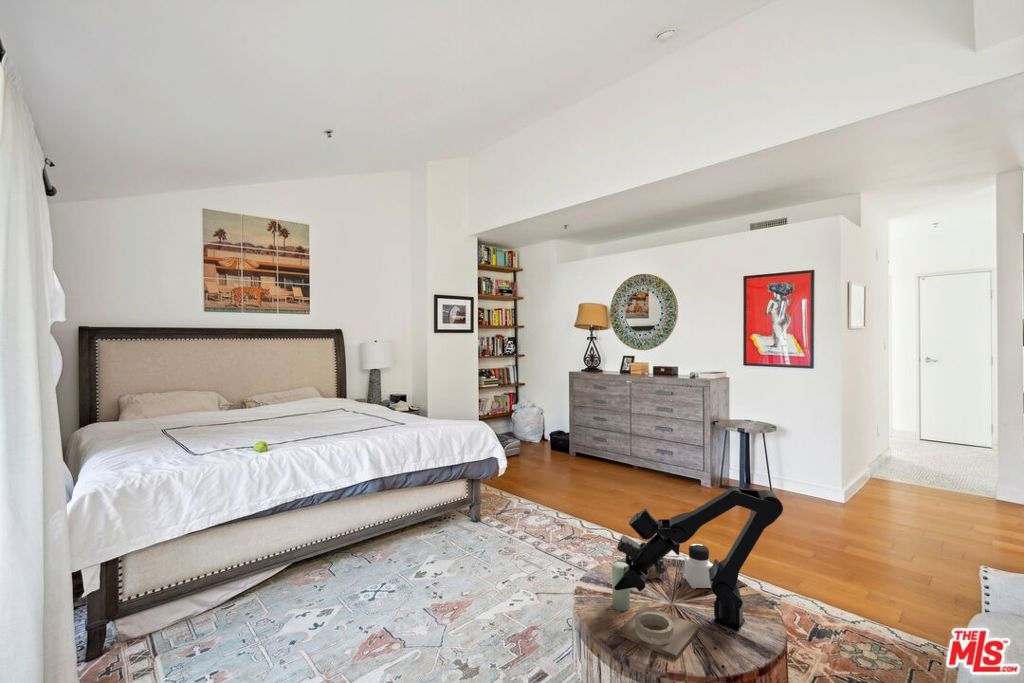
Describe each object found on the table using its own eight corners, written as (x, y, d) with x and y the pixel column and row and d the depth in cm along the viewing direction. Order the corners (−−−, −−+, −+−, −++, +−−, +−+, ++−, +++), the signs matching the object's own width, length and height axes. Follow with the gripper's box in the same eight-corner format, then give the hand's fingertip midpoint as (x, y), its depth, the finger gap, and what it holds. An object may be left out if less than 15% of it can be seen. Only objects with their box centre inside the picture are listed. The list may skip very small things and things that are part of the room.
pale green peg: (632, 605, 142) (632, 565, 142) (624, 613, 138) (624, 571, 138) (617, 600, 145) (617, 560, 145) (609, 607, 141) (608, 566, 141)
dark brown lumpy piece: (621, 578, 158) (647, 589, 151) (620, 557, 159) (646, 566, 151) (643, 568, 166) (669, 577, 158) (642, 547, 166) (668, 556, 158)
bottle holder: (699, 630, 129) (699, 614, 129) (676, 660, 117) (676, 643, 117) (644, 609, 140) (644, 594, 140) (618, 634, 128) (617, 619, 128)
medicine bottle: (714, 589, 151) (714, 551, 151) (692, 589, 151) (691, 551, 151) (706, 578, 158) (705, 541, 158) (684, 578, 158) (683, 541, 158)
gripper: (634, 517, 149) (600, 549, 153) (631, 542, 132) (592, 576, 135) (661, 545, 147) (625, 576, 150) (662, 574, 129) (621, 608, 132)
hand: (616, 583), depth 142 cm, fingers open, 6 cm apart
